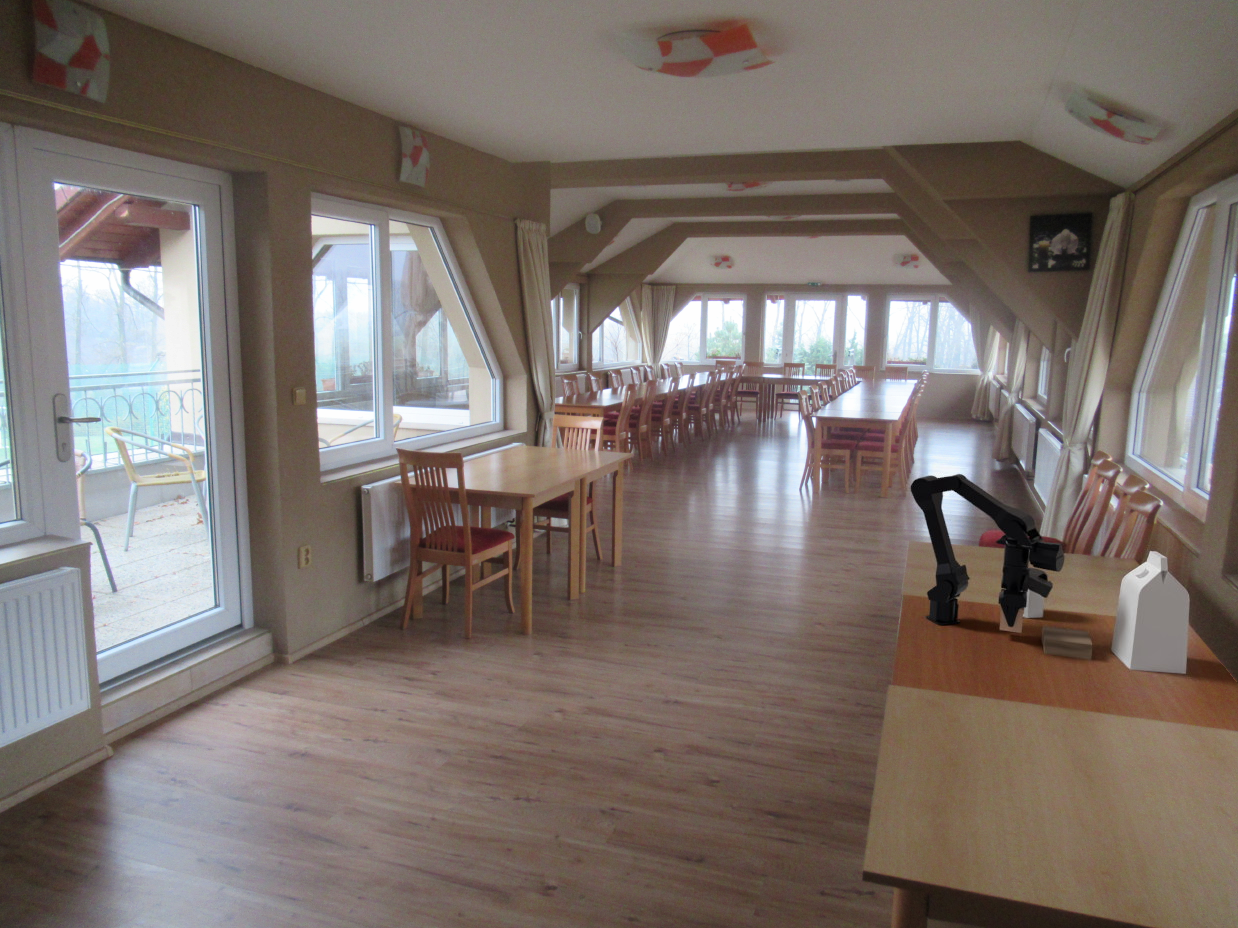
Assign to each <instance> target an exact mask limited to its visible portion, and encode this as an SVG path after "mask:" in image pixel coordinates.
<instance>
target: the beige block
mask: <svg viewBox="0 0 1238 928" xmlns="http://www.w3.org/2000/svg"><path fill="white" fill-rule="evenodd" d="M1041 644H1042V649H1043V654H1046V655H1054V656H1058V657H1059V656H1060V657H1069V658H1074V659H1080V660H1081V659H1082V660H1089V661H1091V660H1092V658H1093V657H1092V656H1093V642H1092V640H1091V637H1090V633H1089V631H1088V630H1080V629H1079V630H1078V629H1073V628H1063V627H1055V626H1047V625H1046V626H1045V625H1042V627H1041Z"/></svg>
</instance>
